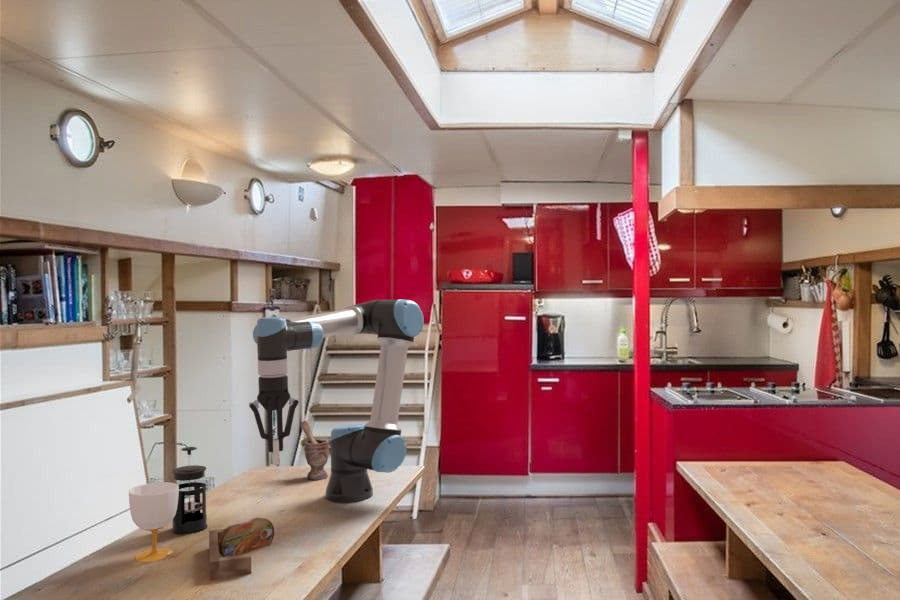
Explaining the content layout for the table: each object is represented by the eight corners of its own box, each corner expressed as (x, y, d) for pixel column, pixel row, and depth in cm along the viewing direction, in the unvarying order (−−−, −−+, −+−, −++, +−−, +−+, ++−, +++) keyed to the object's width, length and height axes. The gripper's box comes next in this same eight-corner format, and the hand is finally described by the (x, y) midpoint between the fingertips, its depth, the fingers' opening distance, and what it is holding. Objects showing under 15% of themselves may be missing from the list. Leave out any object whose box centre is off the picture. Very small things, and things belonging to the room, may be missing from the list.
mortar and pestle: (293, 479, 240) (292, 423, 239) (303, 473, 248) (303, 419, 248) (323, 481, 237) (322, 424, 237) (332, 475, 245) (332, 420, 245)
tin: (222, 565, 163) (222, 530, 163) (216, 562, 165) (215, 527, 165) (275, 547, 175) (275, 515, 175) (268, 544, 177) (268, 512, 177)
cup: (147, 568, 161) (146, 498, 161) (119, 558, 167) (118, 490, 167) (189, 552, 171) (188, 486, 171) (161, 544, 177) (160, 479, 177)
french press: (183, 522, 195) (183, 443, 195) (214, 523, 194) (213, 443, 194) (161, 536, 183) (161, 452, 183) (194, 537, 182) (193, 453, 182)
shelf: (245, 545, 176) (245, 526, 176) (251, 578, 155) (251, 556, 155) (209, 550, 173) (209, 530, 173) (210, 584, 152) (210, 562, 152)
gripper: (295, 371, 183) (298, 457, 184) (246, 375, 178) (249, 463, 179) (300, 375, 176) (303, 463, 177) (248, 379, 171) (252, 470, 172)
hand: (276, 463), depth 178 cm, fingers closed
